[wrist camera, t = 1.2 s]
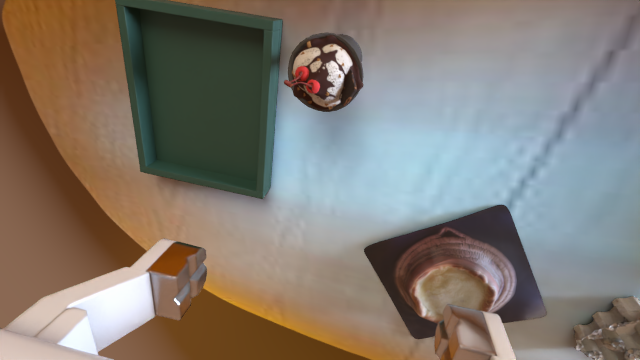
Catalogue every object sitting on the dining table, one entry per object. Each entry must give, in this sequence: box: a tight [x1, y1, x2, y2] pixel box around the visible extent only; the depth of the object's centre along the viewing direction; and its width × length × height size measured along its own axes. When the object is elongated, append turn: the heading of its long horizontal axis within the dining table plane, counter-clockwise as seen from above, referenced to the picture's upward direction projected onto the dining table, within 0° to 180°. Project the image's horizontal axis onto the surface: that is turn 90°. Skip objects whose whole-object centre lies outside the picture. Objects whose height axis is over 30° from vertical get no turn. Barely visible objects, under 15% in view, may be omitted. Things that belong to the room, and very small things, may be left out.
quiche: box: [364, 205, 547, 339], centre depth 48 cm, size 21×20×4 cm
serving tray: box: [115, 0, 282, 199], centre depth 42 cm, size 22×18×3 cm
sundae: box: [284, 33, 363, 112], centre depth 31 cm, size 7×7×15 cm
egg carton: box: [573, 296, 640, 360], centre depth 46 cm, size 11×8×4 cm
